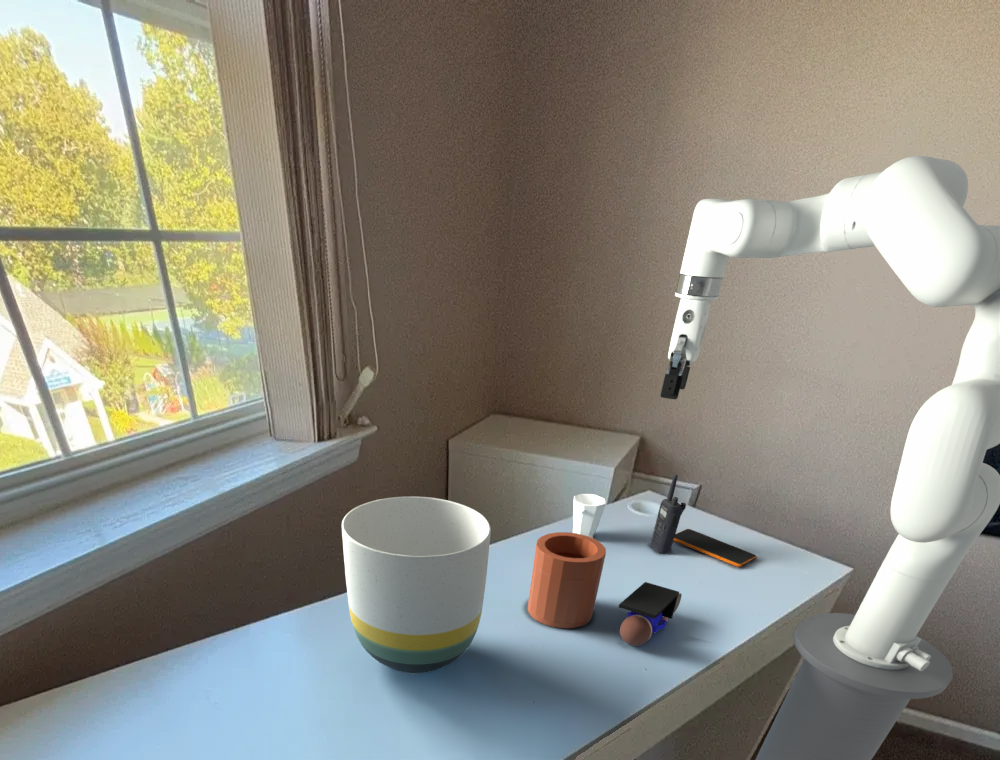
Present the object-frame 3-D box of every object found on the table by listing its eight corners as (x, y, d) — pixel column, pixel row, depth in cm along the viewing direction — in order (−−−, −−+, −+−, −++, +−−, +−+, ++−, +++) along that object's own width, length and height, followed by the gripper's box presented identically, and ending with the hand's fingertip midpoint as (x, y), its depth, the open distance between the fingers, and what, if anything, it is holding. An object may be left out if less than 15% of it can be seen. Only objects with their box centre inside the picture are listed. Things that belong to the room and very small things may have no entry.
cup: (603, 535, 136) (611, 498, 131) (587, 551, 130) (594, 513, 124) (573, 527, 139) (579, 490, 134) (555, 543, 132) (561, 505, 127)
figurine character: (638, 614, 114) (607, 641, 103) (650, 574, 110) (619, 598, 99) (674, 626, 111) (646, 656, 100) (687, 586, 107) (660, 612, 96)
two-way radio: (647, 543, 134) (665, 471, 125) (666, 543, 135) (686, 471, 126) (658, 555, 130) (678, 481, 121) (678, 554, 131) (699, 481, 121)
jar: (604, 621, 109) (619, 555, 101) (549, 633, 104) (561, 566, 97) (568, 591, 116) (579, 528, 108) (515, 602, 112) (523, 537, 104)
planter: (431, 715, 87) (436, 572, 73) (323, 665, 94) (309, 527, 80) (502, 652, 100) (517, 520, 86) (402, 612, 107) (401, 486, 93)
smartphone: (739, 568, 127) (740, 564, 127) (668, 540, 136) (669, 536, 136) (757, 558, 131) (758, 554, 131) (687, 531, 140) (688, 527, 140)
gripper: (714, 294, 106) (685, 405, 117) (724, 286, 119) (697, 387, 129) (669, 289, 108) (645, 399, 119) (684, 282, 121) (661, 382, 132)
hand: (672, 393), depth 124 cm, fingers open, 9 cm apart
